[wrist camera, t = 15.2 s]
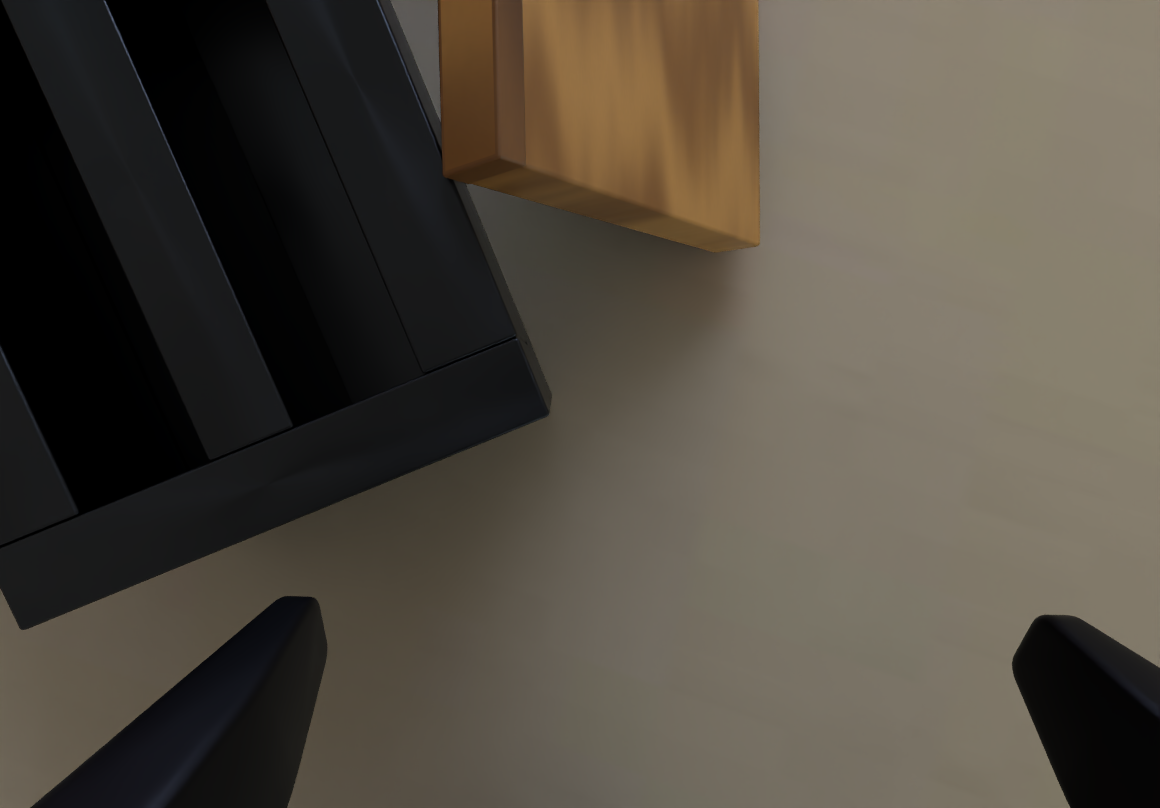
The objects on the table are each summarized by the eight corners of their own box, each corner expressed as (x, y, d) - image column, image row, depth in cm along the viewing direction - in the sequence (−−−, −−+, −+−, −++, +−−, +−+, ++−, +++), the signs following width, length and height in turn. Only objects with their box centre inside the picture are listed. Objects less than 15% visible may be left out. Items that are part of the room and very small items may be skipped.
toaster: (552, 396, 18) (550, 415, 11) (185, 546, 18) (-46, 658, 11) (370, -48, 17) (246, -324, 10) (-17, 107, 17) (-404, -68, 10)
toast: (762, 246, 17) (500, 157, 10) (713, 253, 18) (441, 178, 11) (759, -102, 17) (485, -461, 10) (710, -77, 18) (425, -385, 10)
